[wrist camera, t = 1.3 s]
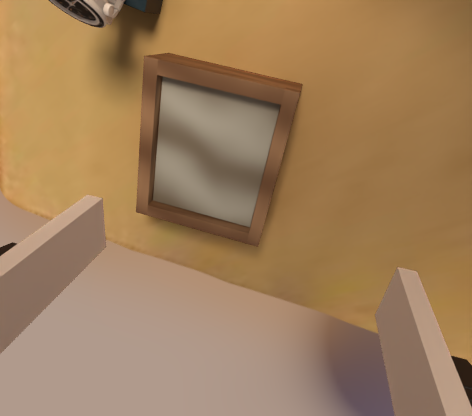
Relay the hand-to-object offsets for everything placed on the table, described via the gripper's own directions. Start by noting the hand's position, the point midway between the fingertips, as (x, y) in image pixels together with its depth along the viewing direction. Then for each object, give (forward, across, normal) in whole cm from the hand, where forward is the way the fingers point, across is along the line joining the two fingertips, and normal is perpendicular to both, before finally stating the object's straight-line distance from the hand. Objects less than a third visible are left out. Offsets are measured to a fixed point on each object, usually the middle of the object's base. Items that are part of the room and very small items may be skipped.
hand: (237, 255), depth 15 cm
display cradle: (+21, -6, -2) cm, 22 cm away
